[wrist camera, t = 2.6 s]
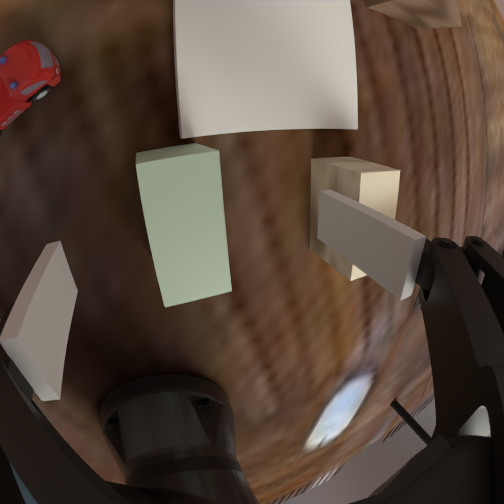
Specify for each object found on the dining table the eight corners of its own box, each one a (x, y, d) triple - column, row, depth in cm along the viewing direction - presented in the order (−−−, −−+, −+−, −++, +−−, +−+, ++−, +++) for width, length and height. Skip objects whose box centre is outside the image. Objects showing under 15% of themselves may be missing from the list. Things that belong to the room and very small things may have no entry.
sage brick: (206, 249, 22) (231, 290, 17) (155, 261, 21) (165, 307, 16) (195, 143, 18) (219, 150, 13) (136, 152, 17) (135, 164, 12)
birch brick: (343, 239, 27) (386, 267, 22) (308, 248, 26) (350, 280, 21) (348, 156, 23) (400, 170, 18) (310, 158, 22) (360, 173, 17)
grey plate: (349, 128, 22) (357, 129, 21) (180, 137, 18) (182, 138, 17) (338, -23, 15) (345, -26, 14) (173, -47, 11) (176, -53, 10)
